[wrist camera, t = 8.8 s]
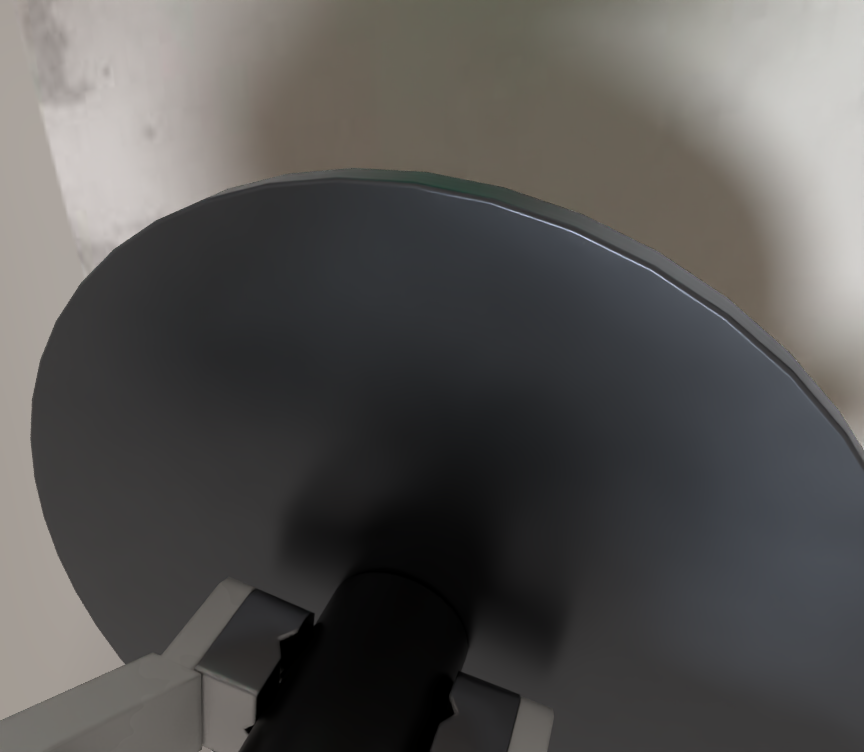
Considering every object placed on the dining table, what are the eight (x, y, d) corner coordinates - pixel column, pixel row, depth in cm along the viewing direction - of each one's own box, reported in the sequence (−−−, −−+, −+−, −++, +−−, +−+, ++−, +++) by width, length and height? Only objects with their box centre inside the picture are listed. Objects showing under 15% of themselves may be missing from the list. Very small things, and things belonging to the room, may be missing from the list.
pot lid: (108, 668, 18) (-57, 860, 14) (31, 47, 10) (-386, 87, 6) (686, 929, 15) (680, 1256, 11) (1181, 349, 7) (1701, 754, 4)
